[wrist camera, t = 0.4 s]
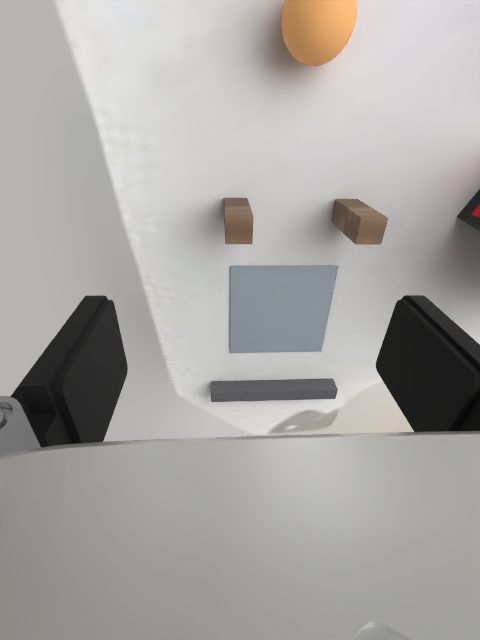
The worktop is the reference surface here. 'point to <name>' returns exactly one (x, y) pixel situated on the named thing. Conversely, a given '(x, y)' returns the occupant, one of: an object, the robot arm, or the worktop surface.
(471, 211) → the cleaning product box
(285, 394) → the wall
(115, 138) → the worktop surface
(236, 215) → the post
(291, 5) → the ball
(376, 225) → the post
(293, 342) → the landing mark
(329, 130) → the worktop surface
